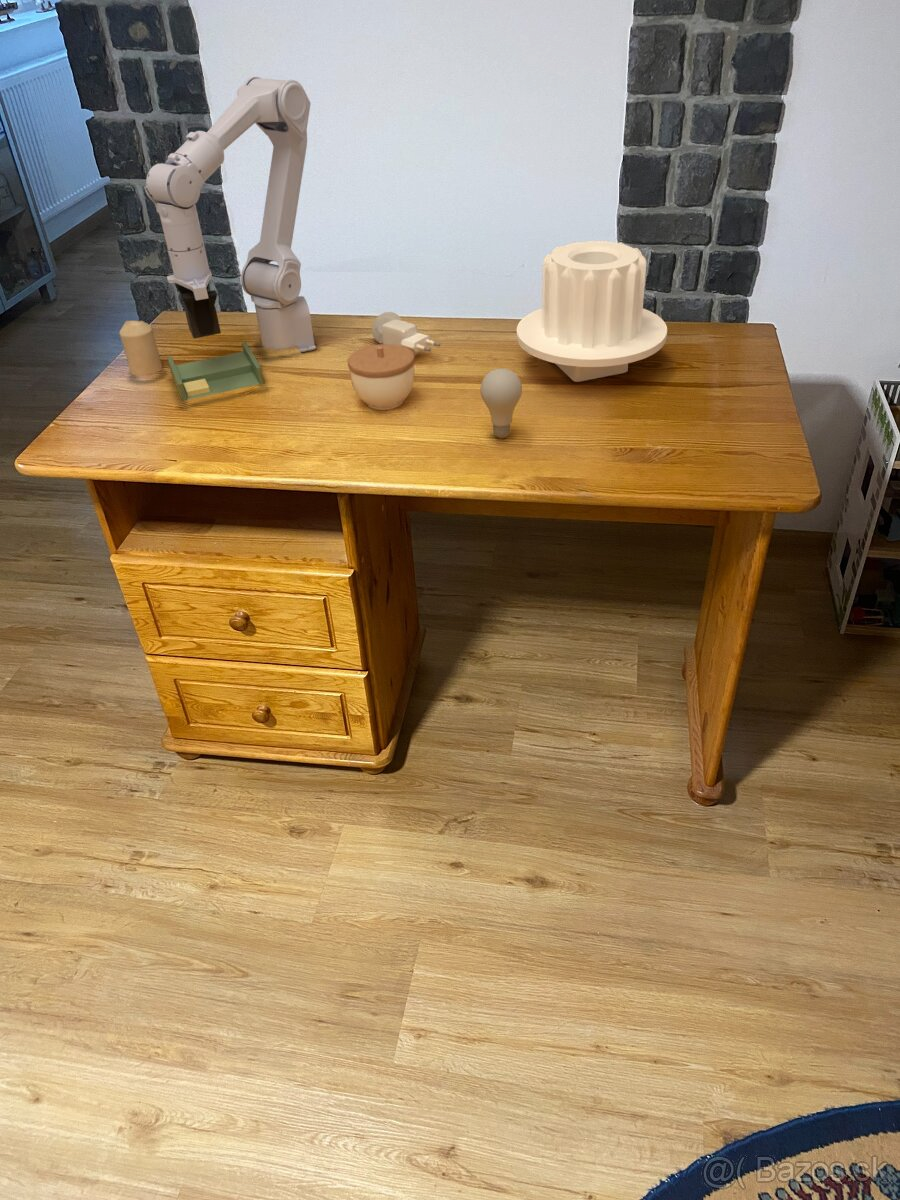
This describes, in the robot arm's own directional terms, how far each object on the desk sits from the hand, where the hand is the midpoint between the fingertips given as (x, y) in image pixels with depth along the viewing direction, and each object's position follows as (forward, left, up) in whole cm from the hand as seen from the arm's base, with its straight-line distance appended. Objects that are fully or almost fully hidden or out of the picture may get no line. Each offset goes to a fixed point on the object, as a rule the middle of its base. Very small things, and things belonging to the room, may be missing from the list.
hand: (204, 328), depth 153 cm
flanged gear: (-60, +25, -10) cm, 66 cm away
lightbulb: (-36, +41, -10) cm, 56 cm away
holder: (0, 0, 0) cm, 0 cm away
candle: (+11, -9, -10) cm, 17 cm away
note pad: (+4, +5, -8) cm, 10 cm away
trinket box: (-24, +21, -10) cm, 34 cm away
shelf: (0, +1, -10) cm, 10 cm away
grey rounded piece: (-33, -3, -10) cm, 35 cm away
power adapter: (-34, +7, -10) cm, 36 cm away
